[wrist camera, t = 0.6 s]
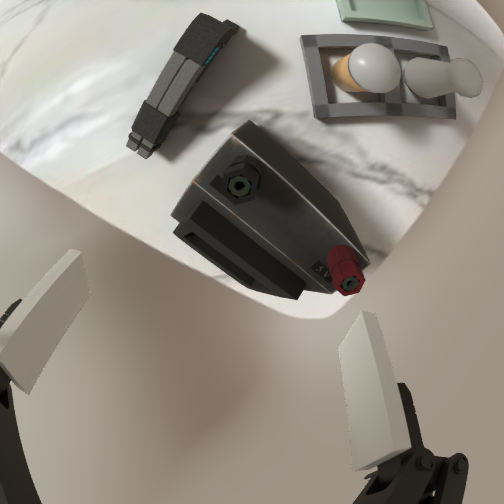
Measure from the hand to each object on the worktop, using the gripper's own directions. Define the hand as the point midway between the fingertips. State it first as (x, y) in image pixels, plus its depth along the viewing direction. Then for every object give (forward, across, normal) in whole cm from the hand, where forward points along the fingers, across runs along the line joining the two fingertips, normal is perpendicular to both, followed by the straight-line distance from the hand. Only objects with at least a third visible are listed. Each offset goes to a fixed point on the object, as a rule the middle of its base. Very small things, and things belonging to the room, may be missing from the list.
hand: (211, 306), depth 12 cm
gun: (+28, -11, +9) cm, 31 cm away
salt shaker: (+27, +19, +18) cm, 38 cm away
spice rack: (+27, +14, +17) cm, 35 cm away
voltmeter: (+28, +1, -6) cm, 28 cm away
